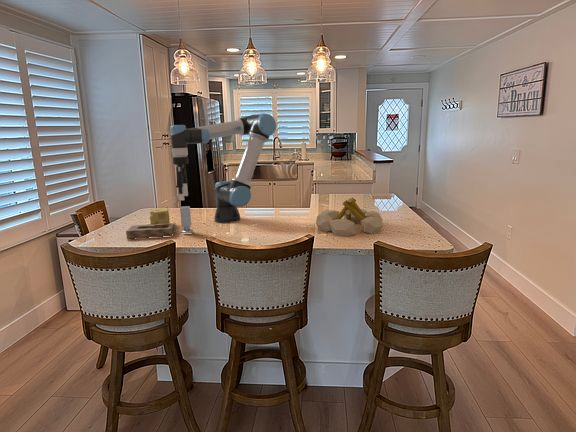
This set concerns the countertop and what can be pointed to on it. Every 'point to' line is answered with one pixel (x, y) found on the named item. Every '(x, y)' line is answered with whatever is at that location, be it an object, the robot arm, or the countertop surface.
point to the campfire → (349, 220)
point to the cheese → (159, 216)
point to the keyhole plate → (150, 230)
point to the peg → (186, 219)
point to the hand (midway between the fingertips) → (183, 198)
